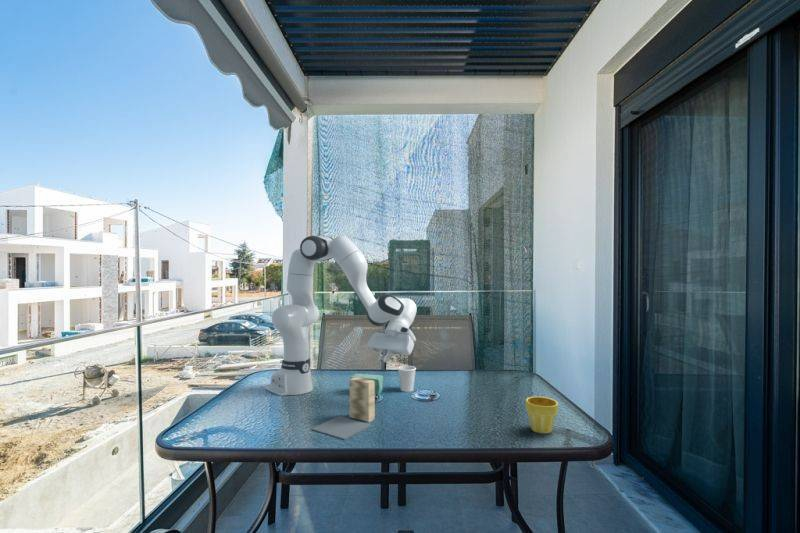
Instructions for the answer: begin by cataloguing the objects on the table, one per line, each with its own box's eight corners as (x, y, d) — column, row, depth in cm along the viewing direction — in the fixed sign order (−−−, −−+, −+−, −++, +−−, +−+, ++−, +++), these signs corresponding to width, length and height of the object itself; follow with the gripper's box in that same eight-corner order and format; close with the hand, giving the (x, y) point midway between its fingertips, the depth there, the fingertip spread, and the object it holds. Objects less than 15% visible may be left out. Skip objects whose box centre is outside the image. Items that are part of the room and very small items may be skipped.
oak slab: (349, 417, 152) (349, 379, 152) (355, 414, 155) (355, 377, 155) (368, 422, 147) (368, 383, 147) (374, 419, 150) (374, 380, 150)
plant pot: (561, 437, 133) (560, 407, 133) (527, 435, 135) (527, 405, 135) (554, 425, 144) (554, 397, 144) (524, 423, 145) (523, 395, 145)
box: (379, 396, 177) (379, 378, 177) (349, 394, 180) (349, 377, 180) (383, 391, 184) (383, 374, 184) (354, 389, 187) (354, 373, 187)
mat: (311, 429, 140) (311, 428, 140) (339, 417, 152) (339, 416, 152) (344, 439, 132) (344, 438, 132) (371, 425, 144) (371, 424, 144)
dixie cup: (416, 392, 181) (416, 370, 181) (397, 392, 181) (397, 370, 181) (416, 387, 190) (415, 365, 190) (397, 387, 190) (397, 365, 190)
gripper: (372, 326, 173) (357, 353, 165) (413, 330, 162) (399, 359, 154) (378, 335, 177) (364, 362, 169) (419, 339, 166) (406, 368, 158)
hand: (381, 361), depth 161 cm, fingers closed
